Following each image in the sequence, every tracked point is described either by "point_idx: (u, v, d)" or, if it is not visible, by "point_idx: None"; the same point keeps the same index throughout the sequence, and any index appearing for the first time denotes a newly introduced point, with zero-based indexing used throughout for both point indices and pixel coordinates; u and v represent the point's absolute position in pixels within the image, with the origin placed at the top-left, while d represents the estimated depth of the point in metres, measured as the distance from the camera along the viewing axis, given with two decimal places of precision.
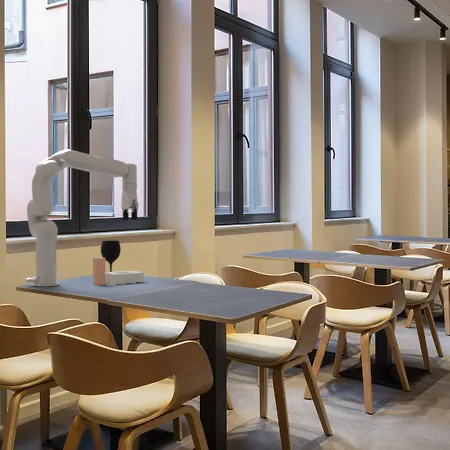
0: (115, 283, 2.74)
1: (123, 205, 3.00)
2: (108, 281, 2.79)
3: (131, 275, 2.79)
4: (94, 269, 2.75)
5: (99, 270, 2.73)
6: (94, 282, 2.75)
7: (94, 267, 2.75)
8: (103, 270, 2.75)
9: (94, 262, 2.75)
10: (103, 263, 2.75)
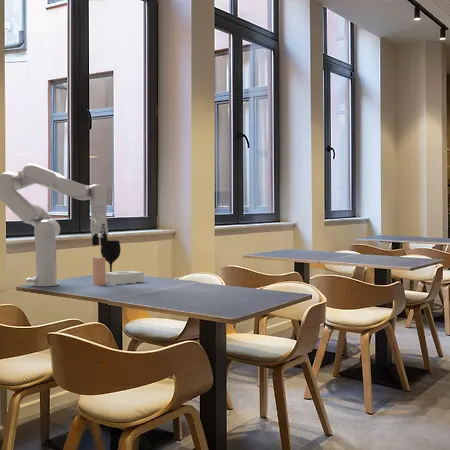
0: (115, 283, 2.74)
1: (92, 230, 2.75)
2: (108, 281, 2.79)
3: (131, 275, 2.79)
4: (94, 269, 2.75)
5: (99, 270, 2.73)
6: (94, 282, 2.75)
7: (94, 267, 2.75)
8: (103, 270, 2.75)
9: (94, 262, 2.75)
10: (103, 263, 2.75)
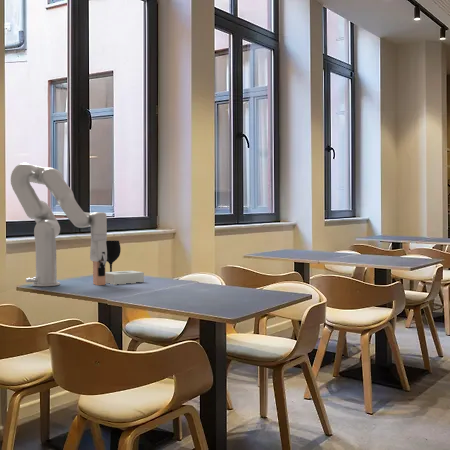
0: (115, 283, 2.74)
1: (92, 257, 2.75)
2: (108, 281, 2.79)
3: (131, 275, 2.79)
4: (94, 269, 2.75)
5: None
6: (94, 282, 2.75)
7: (94, 267, 2.75)
8: None
9: (94, 262, 2.75)
10: None
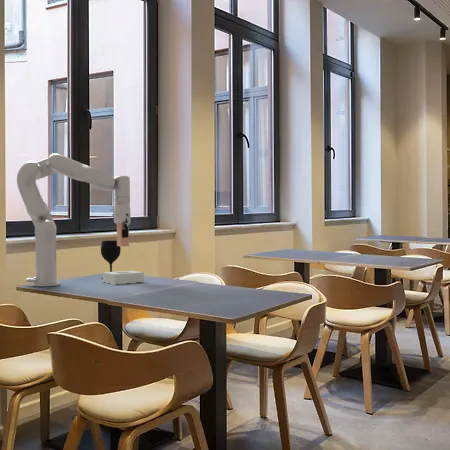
0: (115, 283, 2.74)
1: (115, 220, 2.83)
2: (108, 281, 2.79)
3: (131, 275, 2.79)
4: (118, 231, 2.83)
5: None
6: (118, 243, 2.83)
7: (118, 229, 2.83)
8: None
9: (118, 224, 2.82)
10: None
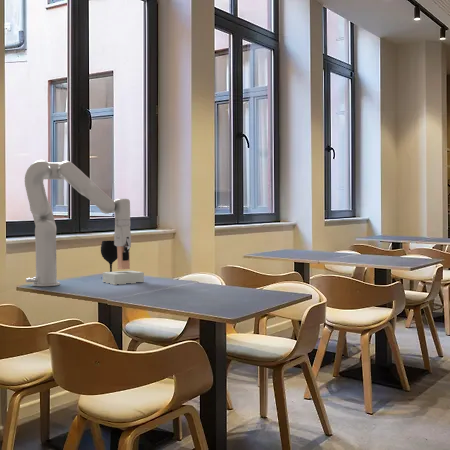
0: (115, 283, 2.74)
1: (116, 242, 2.83)
2: (108, 281, 2.79)
3: (131, 275, 2.79)
4: (118, 254, 2.83)
5: None
6: (119, 266, 2.83)
7: (118, 252, 2.83)
8: None
9: (118, 247, 2.83)
10: None
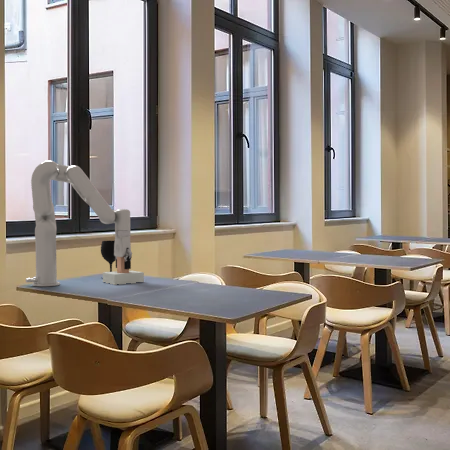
0: (115, 283, 2.74)
1: (116, 253, 2.83)
2: (108, 281, 2.79)
3: (131, 275, 2.79)
4: (118, 267, 2.83)
5: (123, 268, 2.81)
6: None
7: (118, 266, 2.83)
8: None
9: (118, 261, 2.83)
10: None
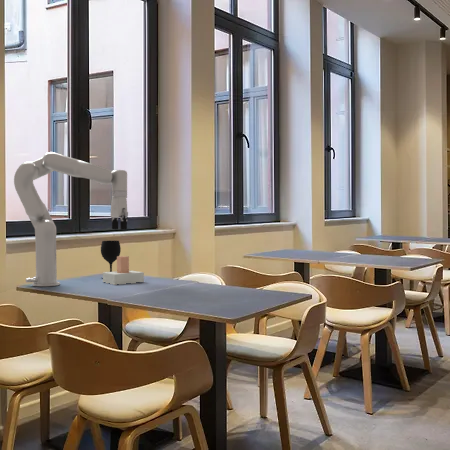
0: (115, 283, 2.74)
1: (112, 214, 2.84)
2: (108, 281, 2.79)
3: (131, 275, 2.79)
4: (118, 267, 2.83)
5: (123, 268, 2.81)
6: None
7: (118, 266, 2.83)
8: (127, 268, 2.83)
9: (118, 261, 2.83)
10: (127, 261, 2.83)
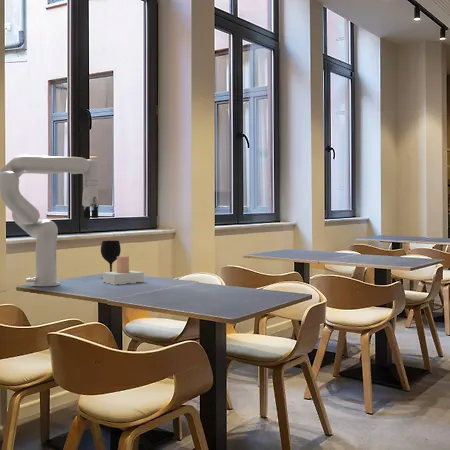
0: (115, 283, 2.74)
1: (84, 203, 2.90)
2: (108, 281, 2.79)
3: (131, 275, 2.79)
4: (118, 267, 2.83)
5: (123, 268, 2.81)
6: None
7: (118, 266, 2.83)
8: (127, 268, 2.83)
9: (118, 261, 2.83)
10: (127, 261, 2.83)
